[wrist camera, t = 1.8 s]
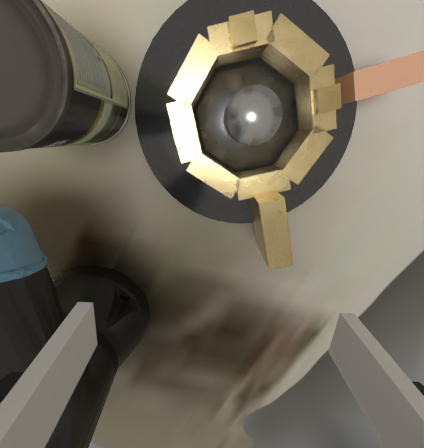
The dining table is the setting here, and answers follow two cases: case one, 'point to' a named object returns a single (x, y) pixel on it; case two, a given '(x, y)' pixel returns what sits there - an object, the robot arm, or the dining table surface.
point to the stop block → (382, 78)
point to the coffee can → (55, 82)
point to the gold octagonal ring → (306, 115)
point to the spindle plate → (221, 94)
